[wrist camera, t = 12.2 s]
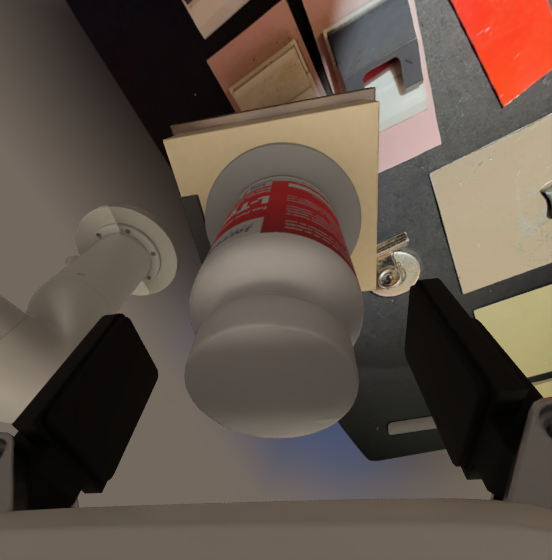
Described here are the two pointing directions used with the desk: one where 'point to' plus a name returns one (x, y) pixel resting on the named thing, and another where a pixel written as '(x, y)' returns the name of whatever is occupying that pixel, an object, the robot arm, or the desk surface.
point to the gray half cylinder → (411, 425)
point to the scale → (286, 171)
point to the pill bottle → (276, 315)
